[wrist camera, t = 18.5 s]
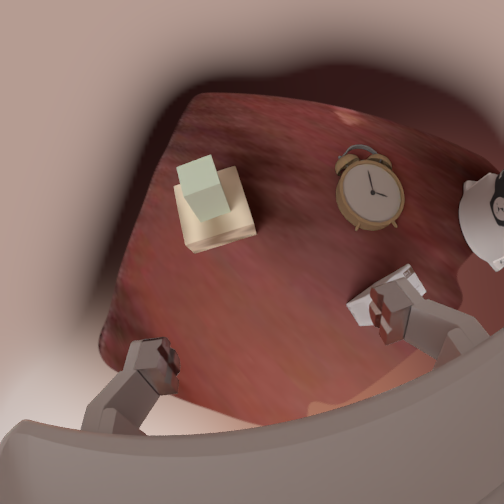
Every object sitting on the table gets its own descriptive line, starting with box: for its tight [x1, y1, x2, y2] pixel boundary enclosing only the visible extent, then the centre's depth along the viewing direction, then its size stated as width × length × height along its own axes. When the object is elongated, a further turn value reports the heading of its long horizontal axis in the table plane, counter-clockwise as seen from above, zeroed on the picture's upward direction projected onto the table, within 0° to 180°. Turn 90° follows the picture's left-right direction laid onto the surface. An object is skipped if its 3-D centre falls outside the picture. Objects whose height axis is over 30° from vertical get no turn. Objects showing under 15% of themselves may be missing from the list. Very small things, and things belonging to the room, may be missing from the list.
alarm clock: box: [335, 145, 405, 231], centre depth 41 cm, size 11×5×15 cm
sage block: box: [177, 155, 231, 222], centre depth 35 cm, size 4×4×8 cm
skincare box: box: [346, 264, 426, 326], centre depth 32 cm, size 6×4×12 cm
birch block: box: [174, 166, 256, 254], centre depth 41 cm, size 10×10×5 cm
